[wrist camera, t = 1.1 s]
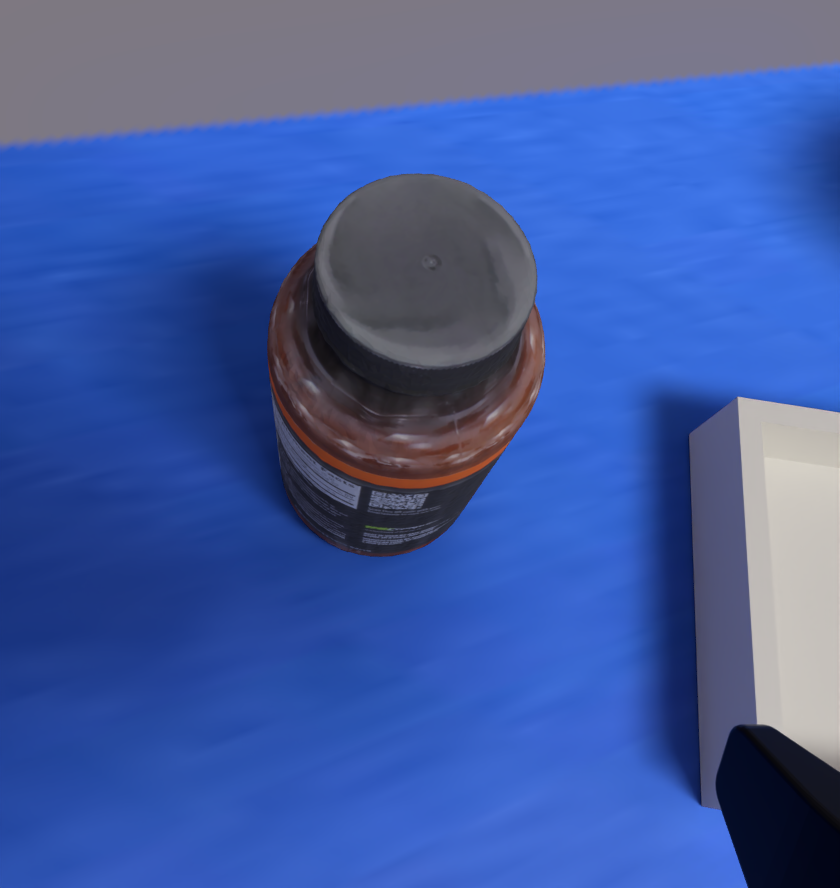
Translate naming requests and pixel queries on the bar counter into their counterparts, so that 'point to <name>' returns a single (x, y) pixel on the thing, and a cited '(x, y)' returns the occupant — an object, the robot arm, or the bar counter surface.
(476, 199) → the supplement bottle
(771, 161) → the bar counter surface
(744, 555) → the tray
